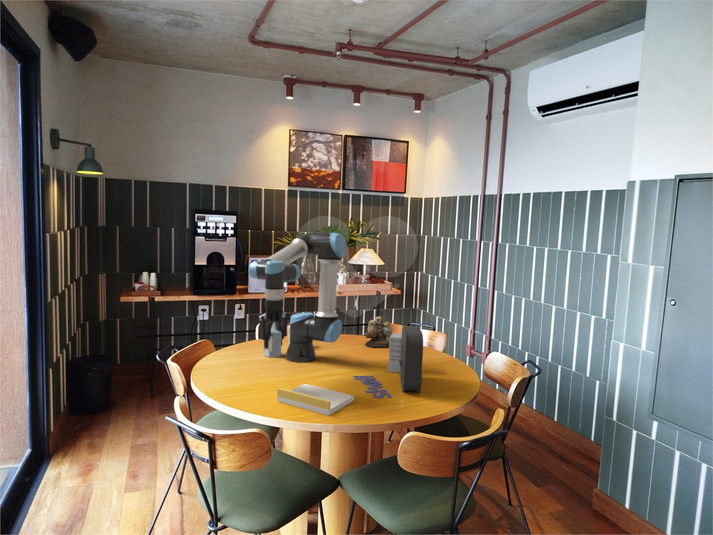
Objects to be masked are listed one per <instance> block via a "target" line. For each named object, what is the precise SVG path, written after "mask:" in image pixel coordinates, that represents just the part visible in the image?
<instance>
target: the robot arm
mask: <svg viewBox="0 0 713 535" xmlns="http://www.w3.org/2000/svg"><path fill="white" fill-rule="evenodd" d="M346 254H347V242H346V239H345V237H344V235H343V234H341V233H338V232H324V231H322V232H321V231H311V232H307V233H305V234H303V235H300V236H299V237H296V238H294V239H292V240H291V242H290V244H288V245H287V246H285V247H283V248H282V249H280V250H279V251H277V252H275V253H274V254H272V255H270V256H269V257H268V258H266V259H264V260H262V261H253V262H251V263H250V265H249V267H248V274H249V276H250V278H251V279H255V280H258V281H259V280H263V281H264V283H265V284H264V285H265V287H264V298H265V299H264V312H263V314H260V315H258V320H259V339H260V340H262V341H263V349H264V348H265V355H264V356H265V357H267V356H268V357H267V358H271V357H270V354H271V351H270V350H271V341H270V340H269V338H270V333H271V328H272V325H273V322H275V325H276V330H277V331H279V332H282V337H281V347H283V340H284V339H285V338H286V337H288V332H287V327H288V319H289V313H288V312H286V311H285V312H284V309H283V308H284V293H285V288H284V285H285V283H293V282H296V281H298V280H299V279H300V277H301V273H302V272H301V268H300V267H299V265H298V264H295V263H293V262H295V261H296V260H297V259H299V258H304V257H306V256H317V260H318V262H320V267H319V268H320V270H319V286H318V287H319V288H318V291H319V292H318V305H317V312H316V313H315V314H314V313H313V312H300V313H294V314H292V315H291V316H290V320H289V325H290V344H289V347H288V346H287V350H286V353H285V359H286V360H287V361H289V360H290V361H289V362H295V363H308V362H312V361H315V360H316V352H315V347H314V344H313V342H314V341H318V342H322V343H323V342H324V343H335V342H337V341H338V339H339V338H340V336H341V334H342V330H343V322H342V321H341V320H340V319H339V314H338V313H337V312H336V306H337V304H336V303H337V287H338V286H337V285H338V273H339V272H338V271H339V270H338V269H339V264H340V262H342V258H344V257H345V256H346ZM269 321H270V322H269Z"/></svg>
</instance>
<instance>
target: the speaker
mask: <svg viewBox="0 0 713 535" xmlns="http://www.w3.org/2000/svg"><path fill="white" fill-rule="evenodd" d="M401 334H402V339H401V358H400V360H399V363H400V372H399V377H400V378H399V379H400V386H401V390H402V392H405V391H406V392H409V391H411V392H418V393H420V392H421V390H422V376H423V356H424V334H423V331H422V330H421V327H420V325H416V326H408V325H402V327H401Z"/></svg>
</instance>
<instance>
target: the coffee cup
mask: <svg viewBox="0 0 713 535" xmlns="http://www.w3.org/2000/svg"><path fill="white" fill-rule="evenodd" d="M289 344H290V324H289V325H288V324H287V348H288V347H289Z"/></svg>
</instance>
